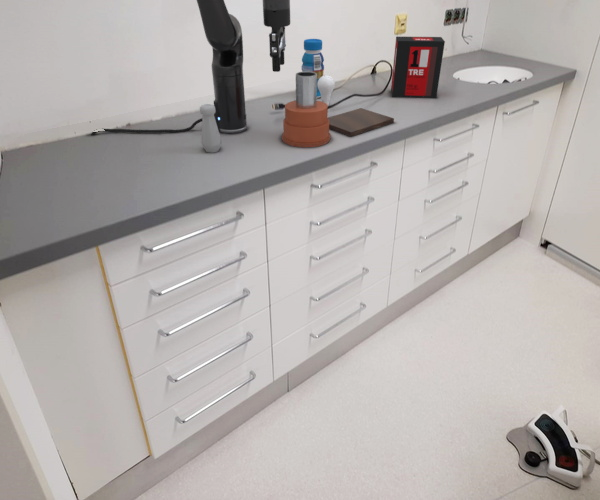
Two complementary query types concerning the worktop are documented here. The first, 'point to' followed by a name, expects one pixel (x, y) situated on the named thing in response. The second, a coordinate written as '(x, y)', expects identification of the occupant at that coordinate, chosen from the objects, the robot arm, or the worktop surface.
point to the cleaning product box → (417, 67)
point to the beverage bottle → (313, 59)
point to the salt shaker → (209, 129)
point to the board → (358, 122)
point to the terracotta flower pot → (306, 125)
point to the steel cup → (306, 90)
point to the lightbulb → (326, 88)
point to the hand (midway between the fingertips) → (278, 67)
